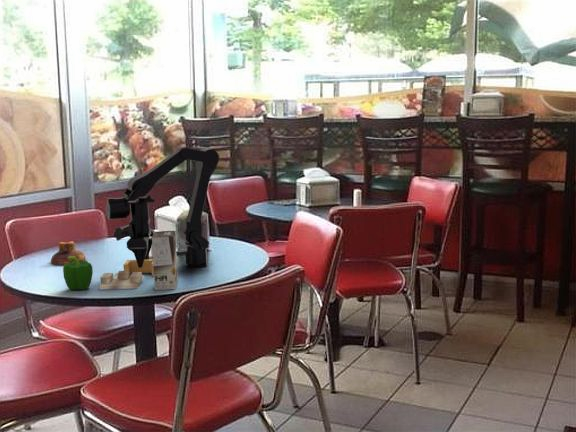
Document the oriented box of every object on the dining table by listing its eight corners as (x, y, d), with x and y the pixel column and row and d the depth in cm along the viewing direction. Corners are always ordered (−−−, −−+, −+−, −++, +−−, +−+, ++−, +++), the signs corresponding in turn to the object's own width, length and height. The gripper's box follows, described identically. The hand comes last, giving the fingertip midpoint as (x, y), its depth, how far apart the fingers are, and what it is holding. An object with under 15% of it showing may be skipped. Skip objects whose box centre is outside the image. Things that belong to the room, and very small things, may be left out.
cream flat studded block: (144, 278, 223) (143, 268, 222) (137, 288, 211) (137, 278, 210) (107, 279, 222) (107, 269, 222) (99, 289, 210) (98, 279, 210)
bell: (44, 265, 244) (42, 244, 243) (62, 257, 255) (61, 237, 254) (74, 266, 241) (73, 245, 240) (92, 258, 253) (90, 238, 251)
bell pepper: (96, 284, 216) (94, 252, 215) (89, 291, 208) (87, 258, 206) (69, 285, 216) (66, 253, 214) (61, 292, 208) (58, 259, 206)
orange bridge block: (158, 271, 232) (158, 259, 231) (155, 276, 225) (155, 263, 224) (127, 271, 231) (127, 259, 230) (124, 277, 225) (123, 264, 224)
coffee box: (176, 289, 209) (173, 236, 206) (154, 290, 208) (151, 236, 205) (178, 281, 218) (175, 230, 215) (157, 282, 217) (154, 230, 214)
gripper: (120, 212, 236) (123, 258, 239) (108, 222, 218) (111, 271, 221) (153, 211, 237) (156, 257, 239) (145, 221, 218) (147, 270, 221)
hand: (142, 264), depth 230 cm, fingers open, 9 cm apart
